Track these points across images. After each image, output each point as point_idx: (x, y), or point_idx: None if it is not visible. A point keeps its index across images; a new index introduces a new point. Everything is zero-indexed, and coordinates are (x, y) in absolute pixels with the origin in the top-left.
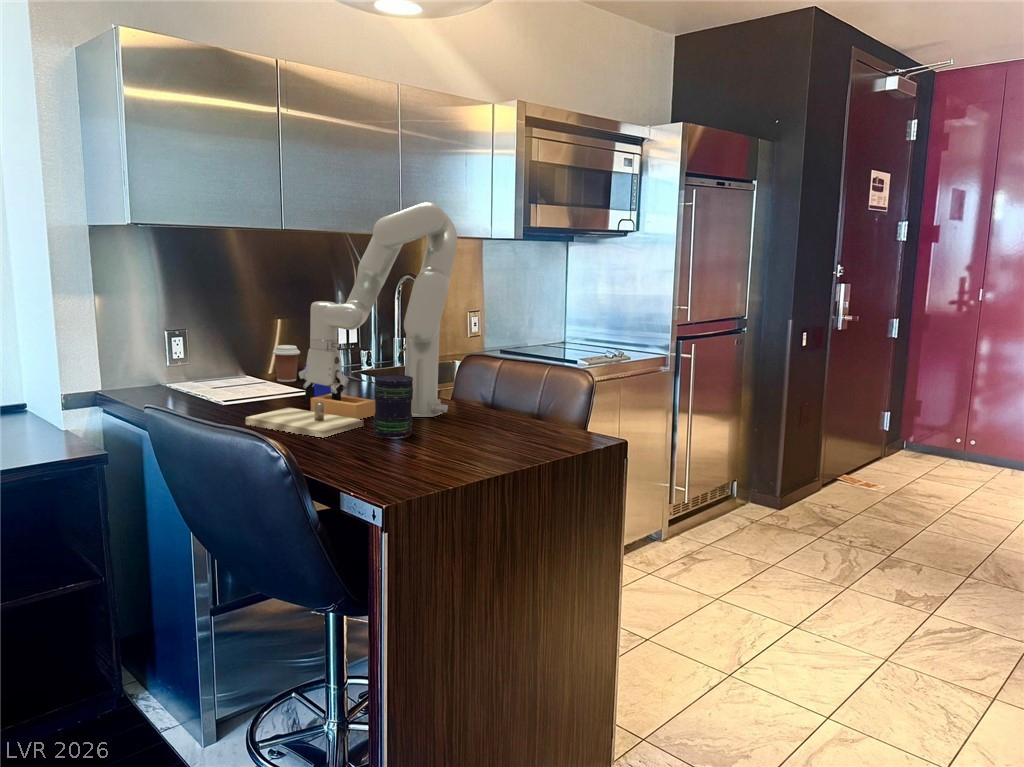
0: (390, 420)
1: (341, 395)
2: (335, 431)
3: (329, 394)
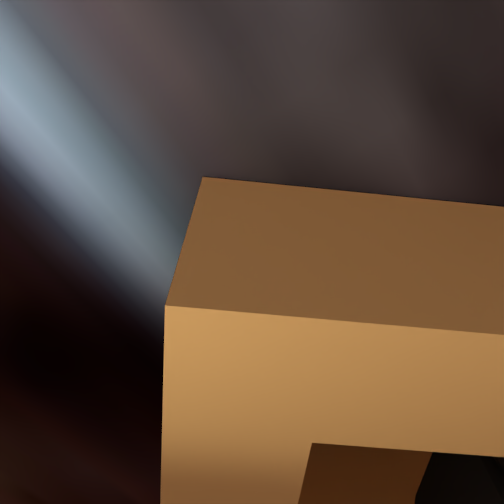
0: None
1: (498, 368)
2: None
3: (197, 405)
